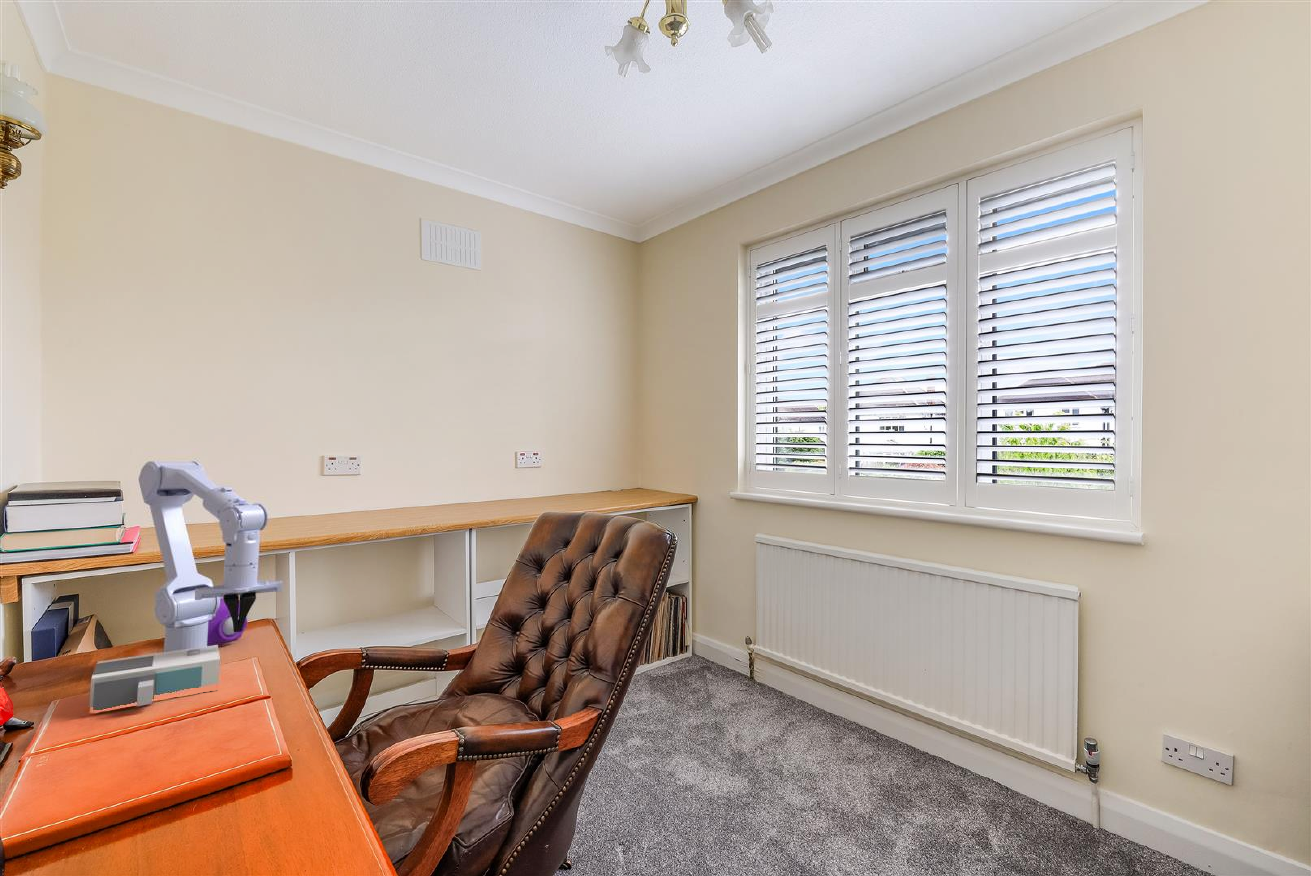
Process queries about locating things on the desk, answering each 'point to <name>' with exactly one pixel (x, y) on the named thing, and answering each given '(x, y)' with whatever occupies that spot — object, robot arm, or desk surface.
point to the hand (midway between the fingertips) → (237, 630)
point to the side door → (124, 691)
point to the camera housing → (165, 669)
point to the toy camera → (222, 626)
